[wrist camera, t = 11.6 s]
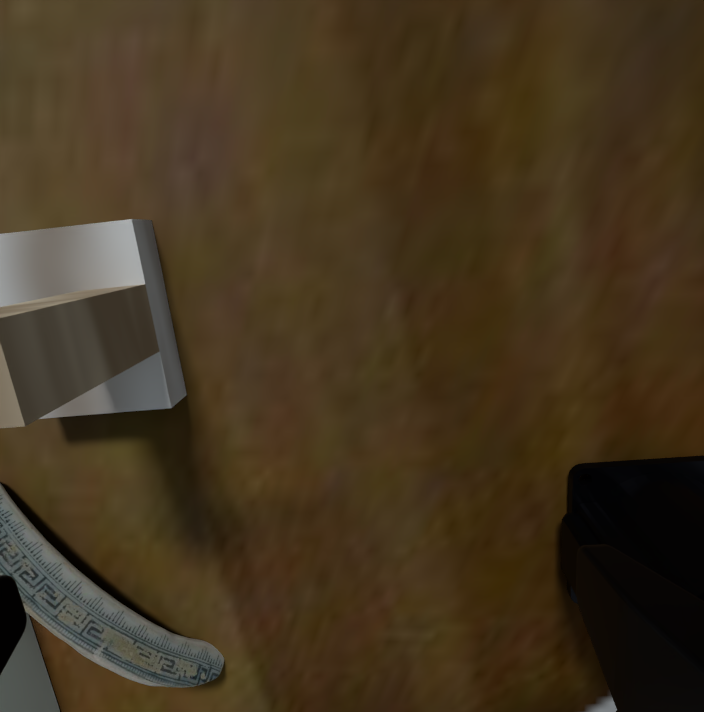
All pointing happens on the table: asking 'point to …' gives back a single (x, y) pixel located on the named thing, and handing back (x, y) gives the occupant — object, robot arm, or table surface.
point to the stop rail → (26, 678)
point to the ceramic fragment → (96, 613)
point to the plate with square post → (84, 323)
